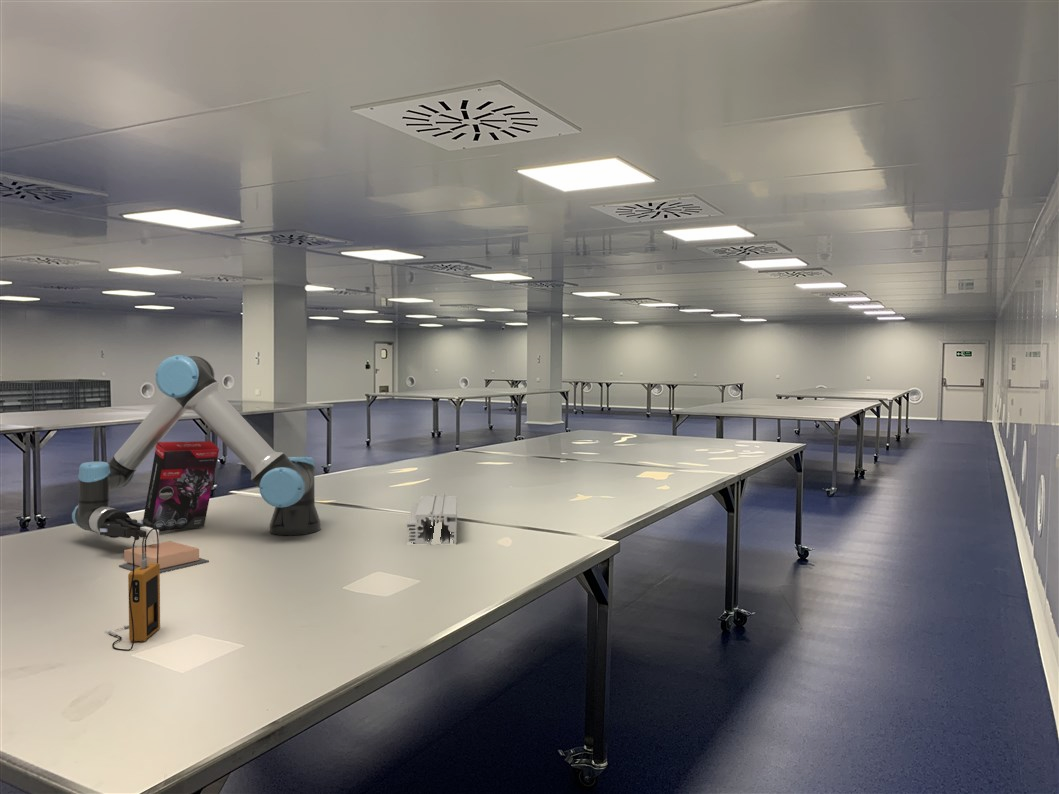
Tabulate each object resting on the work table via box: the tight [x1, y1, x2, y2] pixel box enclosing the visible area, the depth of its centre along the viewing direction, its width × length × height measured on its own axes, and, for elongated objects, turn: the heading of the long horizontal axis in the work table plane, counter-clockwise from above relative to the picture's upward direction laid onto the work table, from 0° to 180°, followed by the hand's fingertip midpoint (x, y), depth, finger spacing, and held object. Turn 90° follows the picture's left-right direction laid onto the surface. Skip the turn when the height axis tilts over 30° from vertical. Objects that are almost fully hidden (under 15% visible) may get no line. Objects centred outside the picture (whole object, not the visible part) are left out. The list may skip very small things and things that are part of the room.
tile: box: [123, 540, 200, 569], centre depth 188 cm, size 3×12×14 cm
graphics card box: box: [142, 440, 220, 533], centre depth 223 cm, size 17×7×27 cm, turn 141°
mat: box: [118, 557, 210, 574], centre depth 187 cm, size 14×16×1 cm
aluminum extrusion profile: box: [406, 492, 458, 544], centre depth 225 cm, size 14×31×10 cm, turn 5°
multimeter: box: [104, 528, 161, 652], centre depth 137 cm, size 15×10×20 cm
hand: (156, 535), depth 189 cm, fingers closed
